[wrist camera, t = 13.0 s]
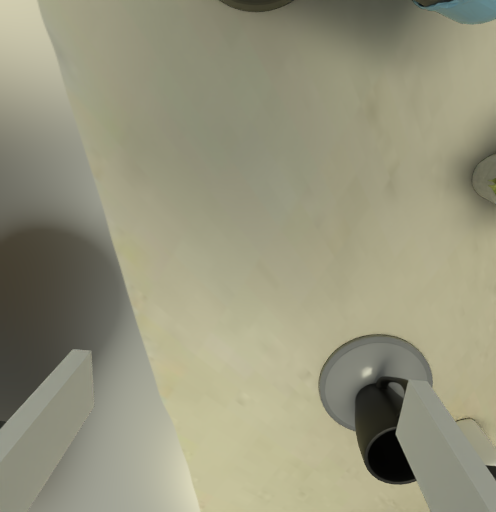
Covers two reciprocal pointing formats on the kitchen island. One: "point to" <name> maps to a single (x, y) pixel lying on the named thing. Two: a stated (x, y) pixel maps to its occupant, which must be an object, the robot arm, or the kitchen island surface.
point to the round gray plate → (367, 372)
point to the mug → (382, 431)
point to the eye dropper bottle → (478, 441)
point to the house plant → (486, 178)
